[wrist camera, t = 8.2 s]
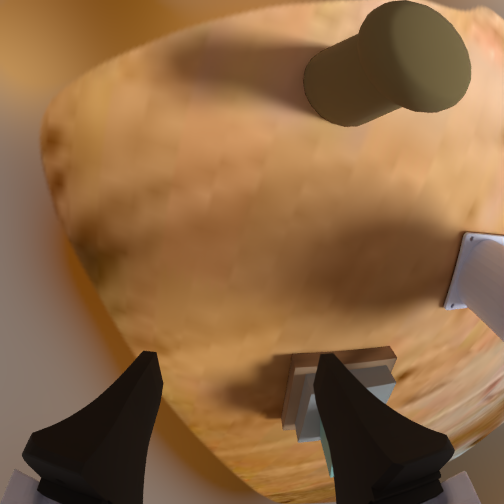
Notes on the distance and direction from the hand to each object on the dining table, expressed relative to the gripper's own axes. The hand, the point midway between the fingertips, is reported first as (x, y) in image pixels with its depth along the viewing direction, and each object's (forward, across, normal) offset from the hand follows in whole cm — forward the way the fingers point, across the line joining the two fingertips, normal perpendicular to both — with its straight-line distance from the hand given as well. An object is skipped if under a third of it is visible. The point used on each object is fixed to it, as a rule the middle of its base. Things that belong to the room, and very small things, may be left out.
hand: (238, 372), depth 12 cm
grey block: (+9, -10, +13) cm, 18 cm away
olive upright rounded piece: (+11, -7, -14) cm, 19 cm away
